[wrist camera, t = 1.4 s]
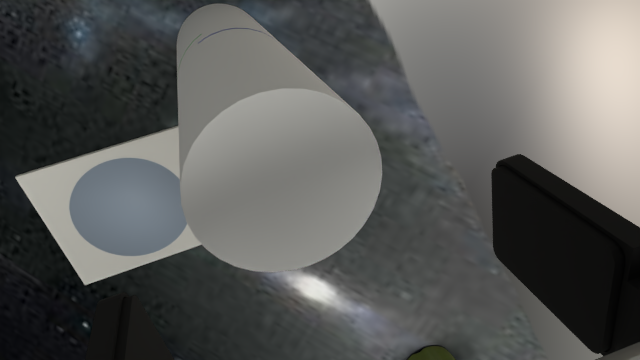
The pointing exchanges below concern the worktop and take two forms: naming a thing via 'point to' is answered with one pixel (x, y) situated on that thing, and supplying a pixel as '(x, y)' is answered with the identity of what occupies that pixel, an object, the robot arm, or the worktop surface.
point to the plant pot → (432, 354)
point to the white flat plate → (114, 205)
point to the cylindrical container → (266, 148)
